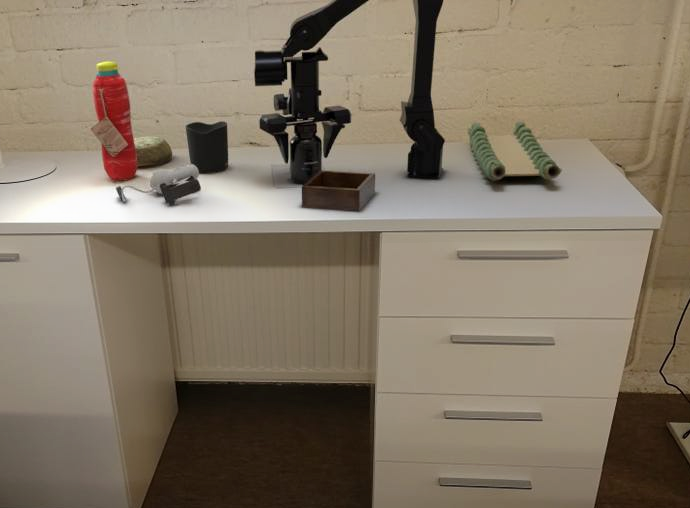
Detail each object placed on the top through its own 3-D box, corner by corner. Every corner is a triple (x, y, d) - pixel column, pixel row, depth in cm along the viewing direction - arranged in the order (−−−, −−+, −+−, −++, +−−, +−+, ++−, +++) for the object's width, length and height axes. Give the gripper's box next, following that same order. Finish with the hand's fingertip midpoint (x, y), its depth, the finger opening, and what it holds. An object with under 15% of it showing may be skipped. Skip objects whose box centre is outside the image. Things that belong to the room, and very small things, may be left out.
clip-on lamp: (120, 223, 159) (203, 198, 157) (108, 195, 155) (194, 169, 154) (123, 200, 169) (202, 176, 167) (113, 173, 165) (193, 149, 163)
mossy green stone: (105, 165, 188) (102, 144, 186) (142, 152, 198) (139, 132, 195) (148, 171, 181) (145, 150, 179) (183, 157, 191) (181, 136, 188)
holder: (374, 193, 157) (375, 173, 155) (359, 211, 148) (359, 190, 146) (320, 189, 162) (320, 170, 160) (301, 207, 152) (301, 186, 150)
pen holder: (206, 177, 175) (202, 131, 170) (181, 169, 181) (177, 126, 176) (238, 167, 180) (235, 123, 175) (213, 161, 186) (209, 118, 181)
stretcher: (561, 190, 152) (565, 165, 150) (486, 191, 154) (488, 167, 152) (526, 140, 187) (529, 119, 185) (465, 141, 189) (467, 120, 187)
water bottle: (125, 187, 171) (108, 67, 159) (92, 186, 173) (73, 68, 161) (146, 172, 181) (132, 58, 169) (115, 171, 183) (99, 59, 171)
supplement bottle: (310, 186, 164) (309, 128, 158) (284, 182, 168) (282, 125, 162) (328, 177, 169) (327, 121, 163) (302, 174, 173) (300, 118, 167)
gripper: (330, 74, 168) (330, 146, 176) (248, 83, 163) (252, 157, 170) (352, 81, 159) (351, 158, 166) (267, 91, 154) (270, 169, 161)
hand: (306, 160), depth 166 cm, fingers open, 9 cm apart
